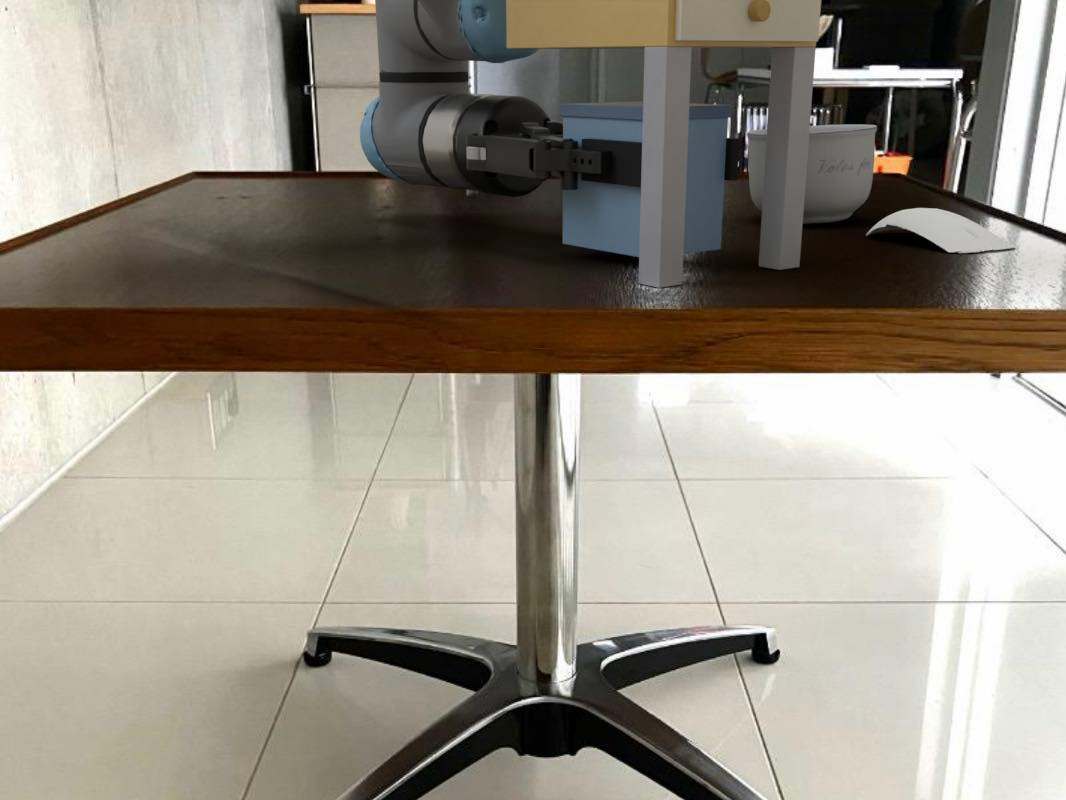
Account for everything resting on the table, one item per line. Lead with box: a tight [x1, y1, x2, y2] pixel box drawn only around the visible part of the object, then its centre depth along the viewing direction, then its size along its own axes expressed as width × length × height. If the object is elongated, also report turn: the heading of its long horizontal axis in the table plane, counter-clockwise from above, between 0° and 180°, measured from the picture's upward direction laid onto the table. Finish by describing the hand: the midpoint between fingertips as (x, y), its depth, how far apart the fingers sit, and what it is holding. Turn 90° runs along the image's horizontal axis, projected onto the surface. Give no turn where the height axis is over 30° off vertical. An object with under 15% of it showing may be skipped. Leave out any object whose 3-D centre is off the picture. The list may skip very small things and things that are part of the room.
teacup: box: [746, 123, 878, 225], centre depth 107 cm, size 14×11×8 cm
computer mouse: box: [865, 207, 1016, 254], centre depth 94 cm, size 7×12×2 cm, turn 26°
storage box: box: [558, 101, 733, 258], centre depth 85 cm, size 9×7×10 cm
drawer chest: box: [506, 0, 822, 289], centre depth 81 cm, size 17×13×22 cm
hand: (693, 162), depth 81 cm, fingers closed on storage box, 7 cm apart
